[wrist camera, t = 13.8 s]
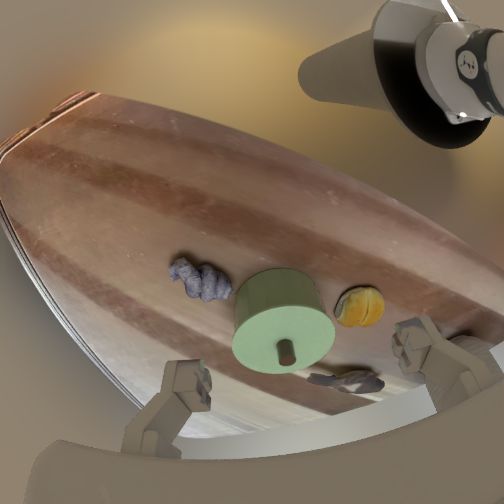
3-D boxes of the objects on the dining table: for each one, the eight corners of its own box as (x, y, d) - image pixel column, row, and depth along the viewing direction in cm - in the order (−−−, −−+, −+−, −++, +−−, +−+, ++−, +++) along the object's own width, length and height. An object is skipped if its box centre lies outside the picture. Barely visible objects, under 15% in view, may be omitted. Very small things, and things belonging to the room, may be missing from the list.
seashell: (171, 259, 42) (233, 277, 45) (162, 293, 40) (226, 310, 43) (174, 248, 37) (243, 268, 40) (163, 286, 35) (236, 305, 38)
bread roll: (371, 319, 50) (378, 334, 46) (329, 319, 49) (335, 335, 45) (388, 285, 46) (398, 300, 42) (345, 282, 45) (352, 298, 41)
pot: (316, 260, 42) (331, 297, 35) (319, 323, 49) (330, 359, 42) (226, 277, 43) (225, 316, 35) (244, 336, 50) (246, 375, 42)
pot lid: (333, 290, 35) (343, 312, 32) (332, 358, 43) (338, 378, 39) (220, 311, 36) (219, 334, 32) (243, 374, 43) (244, 394, 40)
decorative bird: (371, 383, 63) (377, 399, 59) (294, 369, 56) (297, 388, 52) (388, 369, 60) (395, 385, 56) (311, 351, 53) (316, 371, 49)
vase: (423, 345, 57) (477, 460, 28) (482, 315, 54) (542, 410, 26) (414, 384, 67) (450, 477, 38) (466, 357, 65) (508, 440, 36)
